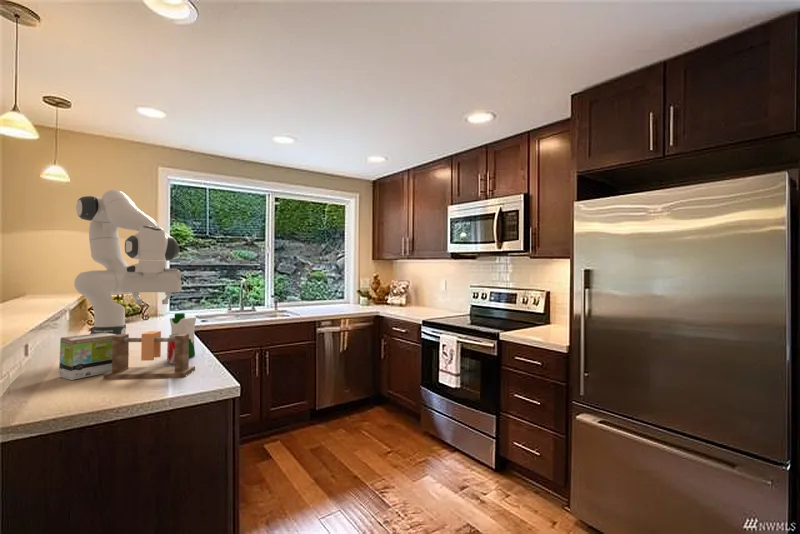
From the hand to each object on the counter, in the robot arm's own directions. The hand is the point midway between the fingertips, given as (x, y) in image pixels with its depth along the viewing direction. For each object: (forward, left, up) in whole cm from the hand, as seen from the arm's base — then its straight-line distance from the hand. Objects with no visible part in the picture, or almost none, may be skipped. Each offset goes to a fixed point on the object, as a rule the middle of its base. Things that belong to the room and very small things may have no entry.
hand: (152, 304), depth 148 cm
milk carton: (0, +28, -27) cm, 39 cm away
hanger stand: (0, 0, -27) cm, 27 cm away
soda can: (+2, +17, -27) cm, 32 cm away
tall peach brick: (0, 0, -21) cm, 21 cm away
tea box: (-23, +2, -27) cm, 36 cm away
